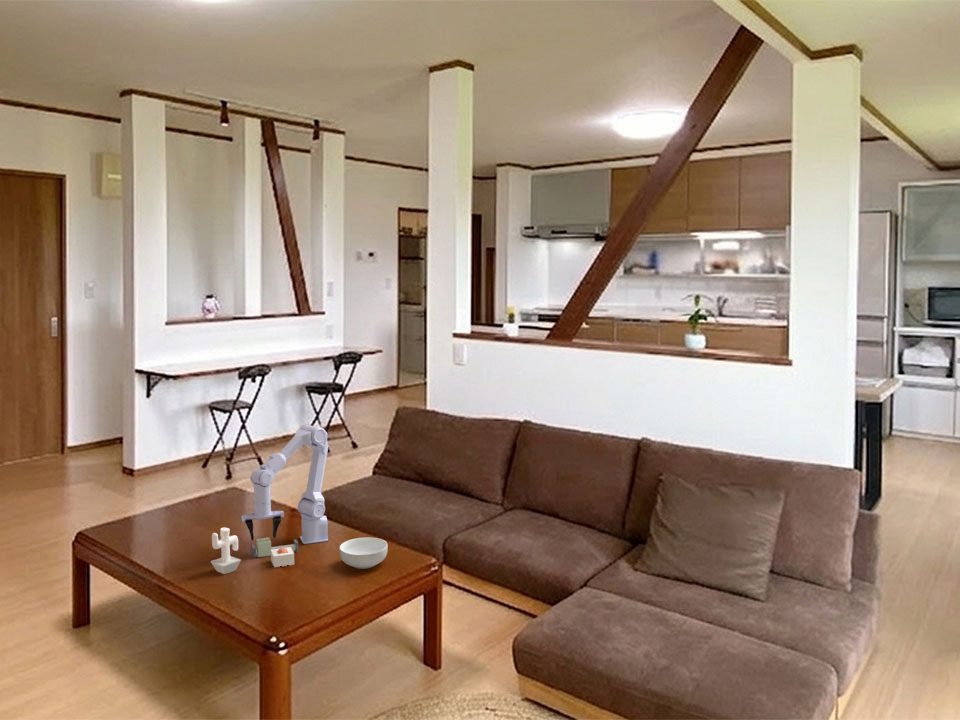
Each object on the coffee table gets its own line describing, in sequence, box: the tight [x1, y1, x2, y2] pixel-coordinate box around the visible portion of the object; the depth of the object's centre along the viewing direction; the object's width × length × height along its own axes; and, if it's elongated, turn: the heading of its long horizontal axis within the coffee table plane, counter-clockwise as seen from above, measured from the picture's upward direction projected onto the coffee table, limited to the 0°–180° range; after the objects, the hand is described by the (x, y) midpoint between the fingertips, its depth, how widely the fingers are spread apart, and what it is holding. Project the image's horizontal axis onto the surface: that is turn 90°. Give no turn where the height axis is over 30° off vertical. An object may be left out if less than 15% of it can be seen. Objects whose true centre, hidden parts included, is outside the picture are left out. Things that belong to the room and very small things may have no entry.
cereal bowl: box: [339, 536, 389, 570], centre depth 272 cm, size 17×17×7 cm
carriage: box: [255, 537, 272, 558], centre depth 281 cm, size 5×5×5 cm
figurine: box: [210, 526, 242, 575], centre depth 265 cm, size 7×9×15 cm
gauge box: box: [270, 547, 295, 568], centre depth 274 cm, size 7×7×4 cm
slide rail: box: [251, 538, 299, 559], centre depth 283 cm, size 16×4×4 cm, turn 113°
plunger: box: [278, 548, 287, 554], centre depth 274 cm, size 3×3×4 cm
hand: (263, 538), depth 281 cm, fingers open, 7 cm apart
